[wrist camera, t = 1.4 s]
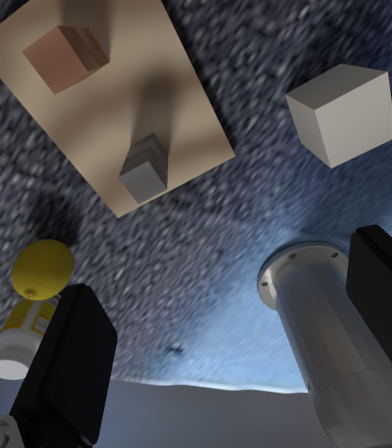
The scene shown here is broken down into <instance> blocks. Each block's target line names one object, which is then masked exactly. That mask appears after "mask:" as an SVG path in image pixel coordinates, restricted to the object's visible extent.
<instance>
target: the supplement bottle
mask: <svg viewBox="0 0 392 448" xmlns="http://www.w3.org/2000/svg"><path fill="white" fill-rule="evenodd" d="M60 298H61V296H60V295H59V294H58V293H57V294H56V295H55V296H53V297H51V298H48V299H45V300H30V299H27V298H25V297H23V296H20V298H19V300H18V301H17V303H16V305H15V307H14V309H13V311H12V312H11V314H10V316H9V318H8V319H7V321H6V323H5V325H4V327H3V328H2V330H1V332H0V377H1V378H4V379H9V380H18V379H23V378H25V377H26V374H27V372H28V370H29V368H30V365H31V363H32V361H33V359H34V356H35V354H36V352H37V350H38V347H39V345H40V343H41V341H42V338H43V336H44V334H45V332H46V329H47V327H48V325H49V323H50V320H51V318H52V316H53V314H54V311H55V309H56V307H57V305H58V302H59V300H60Z"/></svg>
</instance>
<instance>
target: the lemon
mask: <svg viewBox="0 0 392 448" xmlns="http://www.w3.org/2000/svg"><path fill="white" fill-rule="evenodd" d="M73 268H74V259H73V255H72V253H71V251H70V249H69V248H68V247H67V246H66V245H65V244H63V243H62V242H60V241H57V240H53V239H43V240H39V241H36V242H34V243H32V244H30V245H29V246H27V247H26V248H25V249H24V250H23V251H22V252H21V254H20V255H19V256H18V258H17V260H16V262H15V264H14V267H13V270H12V283H13V286H14V288H15V290H16V291H17V292H18V293H19V294H20V295H21V296H23V297H25V298H27V299H30V300H45V299H48V298H51V297H53V296H55V295H56V294H57V293H59V292H60V291H61V290H62V289H63V288H64V286H65V285H66V284H67V282H68V281H69V279H70V277H71V275H72V272H73Z"/></svg>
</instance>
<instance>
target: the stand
mask: <svg viewBox="0 0 392 448" xmlns="http://www.w3.org/2000/svg"><path fill="white" fill-rule="evenodd" d="M0 79H1V80H2V81H3V82H4V83H5V84H6V86H7V87H8V88H9V89H10V90H11V92H12V93H13V94H14V95H15V96H16V97H17V99H18V100H19V101H20V102H21V103H22V105H23V106H24V107H25V108H26V109H27V111H28V112H29V113H30V114H31V115H32V116H33V118H34V119H35V120H36V121H37V122H38V124H39V125H40V126H41V127H42V128H43V129H44V131H45V132H46V133H47V134H48V135H49V137H50V138H51V139H52V140H53V141H54V143H55V144H56V145H57V146H58V147H59V148H60V150H61V151H62V152H63V153H64V154H65V156H66V157H67V158H68V159H69V160H70V161H71V163H72V164H73V165H74V166H75V167H76V169H77V170H78V171H79V172H80V173H81V175H82V176H83V177H84V178H85V179H86V180H87V182H88V183H89V184H90V185H91V186H92V188H93V189H94V190H95V191H96V192H97V194H98V195H99V196H100V197H101V198H102V199H103V201H104V202H105V203H106V204H107V205H108V207H109V208H110V209H111V210H112V211H113V212H114V214H115V215H116V216H117V217H118V218H119V217H121V216H123V215H124V214H126V213H128V212H130V211H132V210H134V209H136V208H138V207H140V206H142V205H143V204H145V203H147V202H149V201H151V200H153V199H155V198H157V197H159V196H161V195H162V194H164V193H166V192H168V191H170V190H172V189H174V188H176V187H178V186H180V185H181V184H183V183H185V182H187V181H189V180H191V179H193V178H195V177H197V176H199V175H200V174H202V173H204V172H206V171H208V170H210V169H212V168H214V167H216V166H218V165H219V164H221V163H223V162H225V161H227V160H229V159H231V158H233V157H235V154H234V152H233V150H232V148H231V146H230V144H229V141H228V139H227V137H226V135H225V133H224V131H223V129H222V127H221V125H220V123H219V121H218V119H217V116H216V114H215V112H214V110H213V108H212V106H211V104H210V102H209V100H208V98H207V96H206V93H205V91H204V89H203V87H202V85H201V83H200V81H199V79H198V77H197V75H196V73H195V71H194V68H193V66H192V64H191V62H190V60H189V58H188V56H187V54H186V52H185V50H184V48H183V45H182V43H181V41H180V39H179V37H178V35H177V33H176V31H175V29H174V27H173V25H172V23H171V20H170V18H169V16H168V14H167V12H166V10H165V8H164V6H163V4H162V2H161V0H30V1H28V2H27V3H26V4H25V5H23V6H22V7H21V8H19V9H18V10H17V11H16V12H14V13H13V14H12V15H11V16H9V17H8V18H7V19H6V20H4V21H3V22H2V23H0Z"/></svg>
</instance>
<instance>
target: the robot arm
mask: <svg viewBox="0 0 392 448" xmlns="http://www.w3.org/2000/svg"><path fill="white" fill-rule="evenodd" d="M257 290H258V293H259V296H260V298H261V300H262V301H263V303H264V304H265V305H267V306H268V307H269V308H271V309H273V310H276V311H278V314H279V316H280V319H281V322H282V324H283V327H284V330H285V332H286V335H287V338H288V340H289V343H290V346H291V348H292V351H293V354H294V356H295V359H296V361H297V364H298V367H299V369H300V372H301V375H302V377H303V380H304V383H305V385H306V388H307V391H308V393H309V396H310V398H311V401H312V404H313V406H314V409H315V412H316V415H317V417H318V420H319V422H320V425H321V427H322V429H323V431H324V432H325V434H326V436H327V437H328V438H329V440H330V441H331V443H332V444H333V445H334V446H335V447H336V448H392V237H391V236H390V235H389V234H388V233H386V232H385V231H384V230H383V229H382V228H381V227H380V226H378V225H376V224H375V225H370V226H365V227H360V228H357V230H356V233H353V234H352V236H351V243H350V252H349V259H348V258H347V256H346V255H345V254H344V252H343V251H341V250H340V249H339V248H338V247H336V246H334V245H332V244H328V243H324V242H304V243H300V244H296V245H293V246H291V247H288V248H286V249H284V250H282V251H280V252H279V253H277V254H276V255H274V256H273V257H272V258H270V259H269V261H268V262H267V263H266V264H265V265H264V266H263V268H262V269H261V271H260V273H259V276H258V279H257ZM116 345H117V332H116V330H115V328H114V326H113V324H112V323H111V321H110V319H109V317H108V316H107V314H106V312H105V311H104V309H103V307H102V305H101V304H100V302H99V300H98V299H97V297H96V295H95V293H94V292H93V290H92V288H91V287H90V286H86V285H85V284H84V283H80V284H75V285H70V286H67V287H66V288H65V289H64V291H63V293H62V296H61V298H60V300H59V302H58V305H57V307H56V309H55V311H54V314H53V316H52V318H51V320H50V323H49V325H48V327H47V329H46V332H45V334H44V336H43V338H42V341H41V343H40V345H39V347H38V350H37V352H36V354H35V356H34V359H33V361H32V363H31V365H30V368H29V370H28V372H27V374H26V377H25V379H24V381H23V383H22V386H21V388H20V390H19V392H18V395H17V397H16V399H15V402H14V404H13V406H12V409H11V411H10V413H9V415H0V448H92V447H93V445H94V444H96V443H97V440H98V437H99V433H100V427H101V422H102V417H103V412H104V407H105V401H106V397H107V391H108V386H109V381H110V376H111V371H112V366H113V361H114V355H115V350H116Z"/></svg>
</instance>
